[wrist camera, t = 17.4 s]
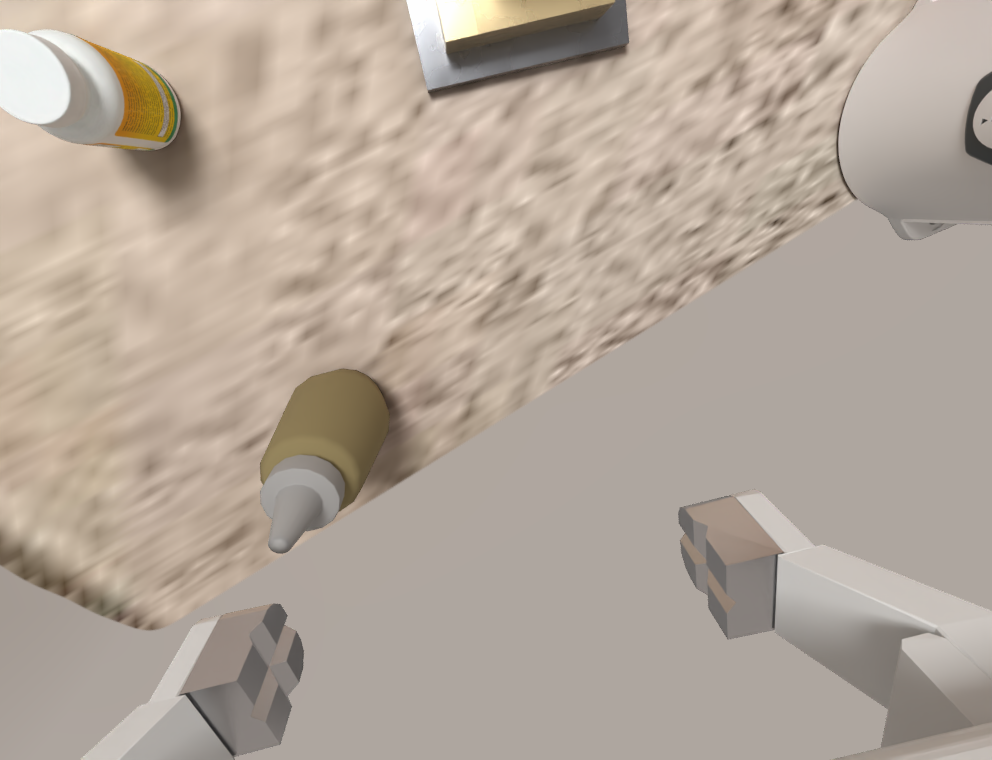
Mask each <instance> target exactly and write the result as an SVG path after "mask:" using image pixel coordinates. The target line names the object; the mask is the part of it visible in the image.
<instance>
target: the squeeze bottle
mask: <svg viewBox="0 0 992 760" xmlns="http://www.w3.org/2000/svg"><path fill="white" fill-rule="evenodd" d="M389 418H390V414H389V411H388V408H387V406H386V403H385V400H384V398H383V396H382V394H381V392H380V390H379V388H378V386H377V385H376V384H375V383H374V382H373V381H372V380H371V379H370V378H369V377H368V376H367V375H365V374H362V373H360V372H358V371H356V370H349V369H339V370H335V371H331V372H327V373H323V374H320V375H316V376H312V377H310V378H308V379H307V380H306V381H305V382H303V383H302V384H301V385H299V386H298V387H297V388H296V389H295V391H294V393H293V395H292V397H291V398H290V400H289V402H288V404H287V407H286V409H285V411H284V413H283V415H282V417H281V420H280V422H279V424H278V426H277V428H276V430H275V432H274V435H273V437H272V439H271V441H270V443H269V445H268V448H267V450H266V452H265V454H264V456H263V458H262V460H261V463H260V474H261V481H262V483H263V487H262V489H261V491H260V498H261V505H262V507H263V509H264V511H265V513H266V514H267V516H268V517H270V518H271V519H272V525H271V530H270V536H269V541H268V546H269V548H270V549H271V550H272V551H273V552H276V553H286V552H288V551H289V550H290V549H291V548H292V547H293V545H294V544H295V543H296V542H297V540H298V539H299V538H300V537H301V535H302V534H303V533H304V532H305V531H311V530H315V529H319V528H322V527H324V526H325V525H327V524H328V523H330V522H331V521H333V520H334V518H335V516H336V515H337V513H338V512H339V511H341V510H342V509H344V508H345V507H347V506H348V505H349V504H351V503H352V502H354V500H355V498H356V497H357V495H358V493H359V492H360V490H361V488H362V486H363V484H364V482H365V480H366V478H367V476H368V474H369V472H370V469H371V467H372V465H373V463H374V461H375V459H376V457H377V455H378V452H379V450H380V448H381V446H382V444H383V442H384V440H385V438H386V435H387V433H388V430H389Z"/></svg>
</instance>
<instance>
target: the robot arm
mask: <svg viewBox="0 0 992 760" xmlns="http://www.w3.org/2000/svg"><path fill="white" fill-rule="evenodd" d="M838 146H839V159H840V165H841V169H842V173H843V176H844V178H845V181H846V183H847V185H848V186H849V188H850V190H851V191H852V193H853V194H854V195H855V196H856V197H857V198H858V199H859V200H860V201H861V202H862V203H864V204H865V205H866V206H868V207H870V208H872V209H874V210H876V211H878V212H880V213H881V214H883V215H884V216H886V217H887V218H888V220H889V222H890V223H891V225H892V227H893V229H894V230H895V231H896V233H897V234H898V235H899V237H901V238H902V239H905V240H920V239H923V238H926V237H928V236H931V235H933V234H935V233H937V232H940V231H942V230H945V229H947V228H949V227H952V226H954V225H956V224H980V225H992V0H918V1H917V3H916V4H915V6H914V8H913V9H912V11H911V12H910V13H909V14H908V15H907V16H906V18H905V19H904V20H903V21H902V22H901V23H900V24H899V25H897V26H896V27H895V28H894V29H893V30H892V31H891V32H890V33H889V34H888V35H887V36H886V37H885V38H884V39H883V40H882V41H881V43H880V44H879V45H878V46H877V47H876V48H875V50H874V51H873V52H872V54H871V55H870V56H869V58H868V59H867V61H866V62H865V64H864V65H863V67H862V69H861V70H860V72H859V74H858V76H857V77H856V79H855V81H854V83H853V86H852V88H851V90H850V93H849V95H848V98H847V100H846V103H845V107H844V110H843V114H842V118H841V123H840V129H839V142H838ZM678 515H679V524H680V526H681V527H682V529H683V530H684V532H685V534H684V536H683V537H682V539H681V540H680V544H681V553H682V557H683V560H684V563H685V567H686V569H687V571H688V574H689V576H690V578H691V580H692V581H693V583H694V585H695V587H696V588H697V589H698V590H700V591H702V592H703V593H705V594H707V595H708V606H709V610H710V611H711V613H712V615H713V616H714V618H715V619H716V621H717V623H718V624H719V626H720V628H721V629H722V631H723V633H724V634H725V635H726V637H727V639H732V638H737V637H742V636H747V635H752V634H757V633H762V632H767V631H771V630H775V633H776V634H778V635H779V636H781V637H782V638H784V639H785V640H786V641H788V642H789V643H791V644H792V645H794V646H795V647H797V648H798V649H800V650H801V651H803V652H804V653H806V654H807V655H809V656H810V657H811V658H813V659H815V660H816V661H817V662H819V663H820V664H822V665H823V666H825V667H826V668H828V669H829V670H831V671H832V672H834V673H835V674H837V675H838V676H840V677H841V678H842V679H844V680H845V681H847V682H848V683H850V684H851V685H853V686H854V687H856V688H857V689H859V690H860V691H862V692H863V693H865V694H866V695H868V696H869V697H871V698H872V699H873V700H875V701H876V702H878V703H879V704H881V705H882V706H884V707H885V708H887V709H888V712H887V718H886V723H885V728H884V734H883V738H882V743H881V748H878V749H874V750H870V751H866V752H861V753H857V754H853V755H849V756H845V757H840V758H836V759H832V760H992V611H990V610H988V609H985V608H983V607H980V606H978V605H975V604H972V603H970V602H967V601H965V600H963V599H960V598H958V597H955V596H952V595H950V594H947V593H945V592H942V591H940V590H937V589H935V588H932V587H930V586H927V585H925V584H922V583H920V582H917V581H914V580H912V579H910V578H907V577H904V576H902V575H900V574H897V573H894V572H892V571H889V570H887V569H884V568H882V567H879V566H877V565H874V564H872V563H869V562H867V561H864V560H862V559H859V558H857V557H854V556H852V555H849V554H846V553H844V552H841V551H839V550H836V549H834V548H831V547H829V546H826V545H819V546H815V545H814V544H813V543H812V542H811V541H810V540H809V539H808V538H807V537H806V536H805V535H804V534H803V533H802V532H801V531H800V530H799V529H798V528H797V527H796V526H794V524H792V522H791V521H790V520H789V519H787V518H786V517H785V515H783V513H781V512H780V511H779V510H778V509H777V508H776V507H775V506H774V505H773V504H772V503H771V502H770V501H769V500H768V499H767V498H766V497H765V496H764V495H763V494H762V493H761V492H760V491H758V490H756V489H752V490H748V491H744V492H740V493H736V494H733V495H729V496H725V497H721V498H717V499H713V500H709V501H705V502H701V503H697V504H692V505H689V506H684V507H681V508H680V510H679V514H678ZM286 619H287V614H286V612H285V611H284V609H283V608H282V606H281V605H280V604H269V605H264V606H259V607H255V608H250V609H245V610H240V611H236V612H231V613H226V614H224V615H220V616H214V617H209V618H205V619H201V620H200V621H198V622H197V623H196V624H194V625H193V627H192V628H191V630H190V632H189V634H188V635H187V637H186V639H185V640H184V642H183V644H182V646H181V647H180V649H179V651H178V652H177V654H176V656H175V658H174V659H173V661H172V663H171V665H170V666H169V668H168V670H167V671H166V673H165V675H164V676H163V678H162V680H161V682H160V683H159V685H158V687H157V689H156V690H155V692H154V694H153V696H152V697H151V699H150V701H149V702H148V703H147V704H143V705H140V706H138V707H137V708H136V709H135V710H134V711H133V712H132V713H131V714H130V715H128V716H127V717H126V718H125V719H124V720H123V721H122V722H121V723H120V724H119V725H117V726H116V727H115V728H114V729H113V730H112V731H111V732H110V733H109V734H108V735H107V736H105V737H104V738H103V739H102V740H101V741H100V742H99V743H98V744H97V745H96V746H95V747H93V748H92V749H91V750H90V751H89V752H88V753H87V754H86V755H85V756H84V757H82V758H81V759H80V760H235V759H234V757H236V756H239V755H243V754H247V753H251V752H254V751H258V750H262V749H265V748H269V747H273V746H277V745H280V744H281V741H282V737H283V734H284V731H285V727H286V724H287V721H288V718H289V714H290V711H291V708H292V706H291V703H290V701H289V698H288V695H289V694H290V693H291V692H292V690H293V689H294V688H295V687H296V686H297V684H298V683H299V681H300V677H301V674H302V670H303V658H304V650H303V646H302V642H301V639H300V637H299V635H298V633H297V631H295V630H293V629H292V628H290V627H287V626H286V625H284V624H285V622H286Z"/></svg>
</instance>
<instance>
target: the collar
mask: <svg viewBox="0 0 992 760" xmlns="http://www.w3.org/2000/svg"><path fill="white" fill-rule="evenodd" d="M407 5H408V9H409V13H410V17H411V22H412V26H413V30H414V34H415V38H416V43H417V47H418V51H419V55H420V60H421V64H422V68H423V72H424V77H425V81H426V85H427V89H428V93H429V92H433V91H438V90H442V89H446V88H450V87H455V86H459V85H463V84H467V83H472V82H476V81H480V80H484V79H489V78H493V77H497V76H501V75H506V74H510V73H514V72H518V71H523V70H527V69H531V68H535V67H539V66H544V65H548V64H552V63H556V62H561V61H565V60H569V59H573V58H578V57H582V56H586V55H590V54H595V53H599V52H603V51H607V50H612V49H616V48H620V47H624V46H625V45H627V44H628V43H629V36H628V24H627V12H626V0H407Z"/></svg>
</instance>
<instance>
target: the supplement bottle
mask: <svg viewBox="0 0 992 760" xmlns="http://www.w3.org/2000/svg"><path fill="white" fill-rule="evenodd" d="M0 107H1V108H2V109H3V110H5V111H6V112H8V113H9V114H11V115H12V116H14V117H15V118H17V119H19V120H22V121H24V122H27V123H31V124H35V125H38V126H39V127H41V128H42V129H43V130H45V131H46V132H48V133H50V134H51V135H53V136H55V137H57V138H60V139H62V140H65V141H68V142H71V143H76V144H84V145H92V146H102V147H112V148H121V149H130V150H141V151H153V150H158V149H161V148H163V147H166V146H167V145H169V144H170V143H171V142H172V141H173V140H174V139H175V137H176V135H177V133H178V130H179V126H180V120H181V112H180V106H179V103H178V100H177V97H176V95H175V93H174V91H173V89H172V88H171V86H170V85H169V84H168V82H167V81H166V80H165V79H164V78H163V77H162V76H161V75H160V74H159V73H158V72H157V71H155V70H154V69H152V68H151V67H149V66H147V65H146V64H143V63H141V62H139V61H137V60H134V59H132V58H129V57H127V56H124V55H122V54H119V53H117V52H114V51H111V50H109V49H106V48H104V47H101V46H99V45H96V44H93V43H91V42H88V41H86V40H84V39H82V38H79V37H77V36H75V35H72V34H68V33H65V32H61V31H56V30H36V31H32V32H29V33H25V32H22V31H18V30H10V29H5V30H0Z"/></svg>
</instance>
